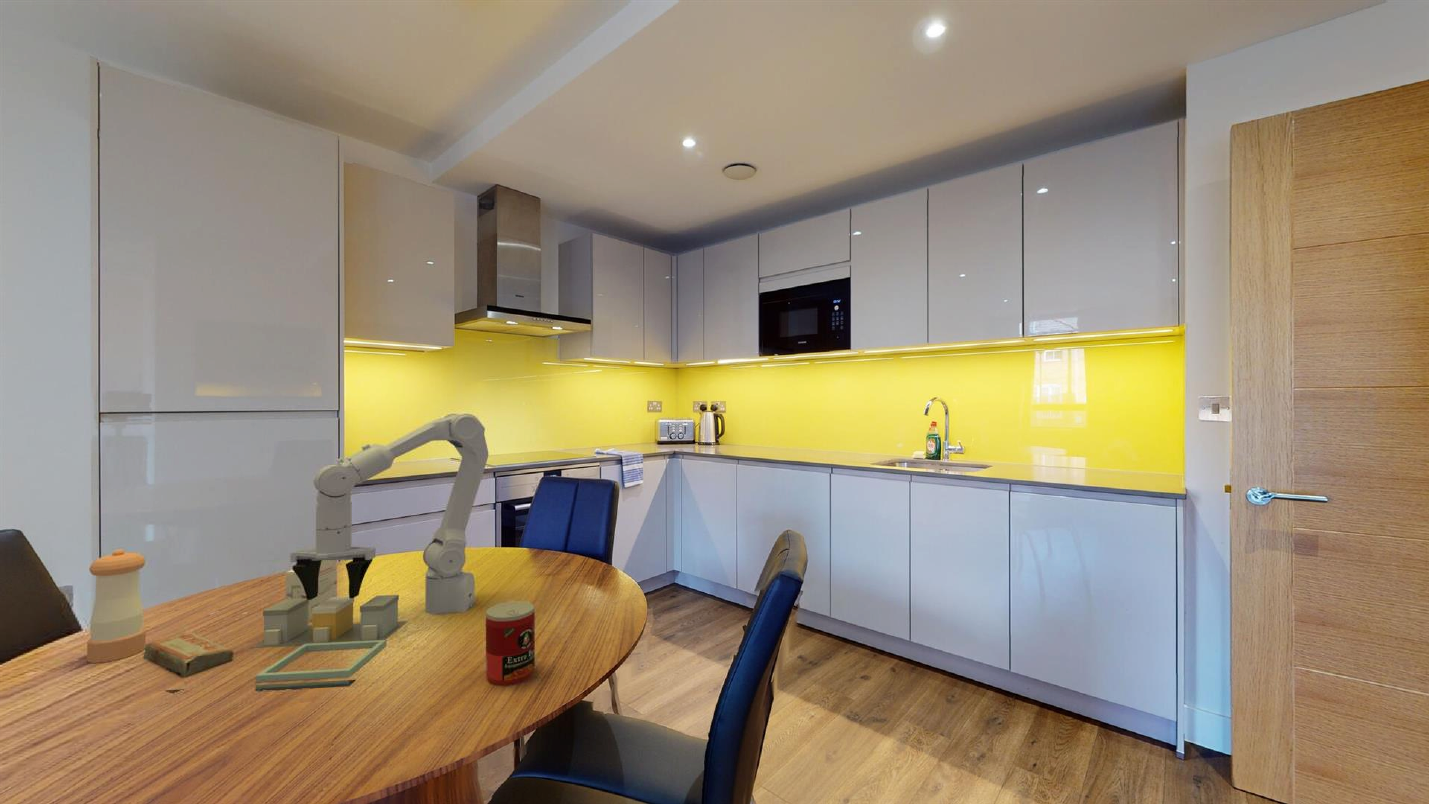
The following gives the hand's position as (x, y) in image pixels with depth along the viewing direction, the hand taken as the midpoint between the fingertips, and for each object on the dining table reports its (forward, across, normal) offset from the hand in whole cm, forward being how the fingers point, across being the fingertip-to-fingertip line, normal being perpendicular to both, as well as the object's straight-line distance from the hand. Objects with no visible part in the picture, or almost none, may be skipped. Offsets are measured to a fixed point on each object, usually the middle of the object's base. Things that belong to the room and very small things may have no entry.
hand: (333, 597), depth 105 cm
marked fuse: (+7, 0, 0) cm, 7 cm away
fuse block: (+8, 0, 0) cm, 9 cm away
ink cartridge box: (+9, -11, +12) cm, 18 cm away
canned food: (+9, +38, -18) cm, 43 cm away
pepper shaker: (+9, -37, -1) cm, 38 cm away
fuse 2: (+7, +9, 0) cm, 11 cm away
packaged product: (+9, -18, -9) cm, 23 cm away
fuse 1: (+7, -8, 0) cm, 11 cm away
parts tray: (+8, +6, -13) cm, 17 cm away
